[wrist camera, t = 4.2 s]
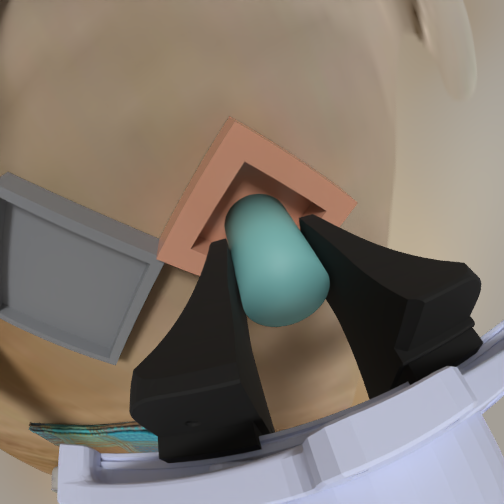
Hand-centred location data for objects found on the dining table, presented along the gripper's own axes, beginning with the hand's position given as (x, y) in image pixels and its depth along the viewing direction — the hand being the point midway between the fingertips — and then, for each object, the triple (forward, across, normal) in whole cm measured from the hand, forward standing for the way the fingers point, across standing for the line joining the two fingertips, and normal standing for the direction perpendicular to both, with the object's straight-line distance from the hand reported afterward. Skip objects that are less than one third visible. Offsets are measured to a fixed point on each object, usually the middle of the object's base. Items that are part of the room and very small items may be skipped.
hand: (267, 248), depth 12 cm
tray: (+3, +12, 0) cm, 12 cm away
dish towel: (+4, +26, +29) cm, 39 cm away
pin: (+2, 0, 0) cm, 2 cm away
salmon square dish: (+3, 0, 0) cm, 3 cm away
